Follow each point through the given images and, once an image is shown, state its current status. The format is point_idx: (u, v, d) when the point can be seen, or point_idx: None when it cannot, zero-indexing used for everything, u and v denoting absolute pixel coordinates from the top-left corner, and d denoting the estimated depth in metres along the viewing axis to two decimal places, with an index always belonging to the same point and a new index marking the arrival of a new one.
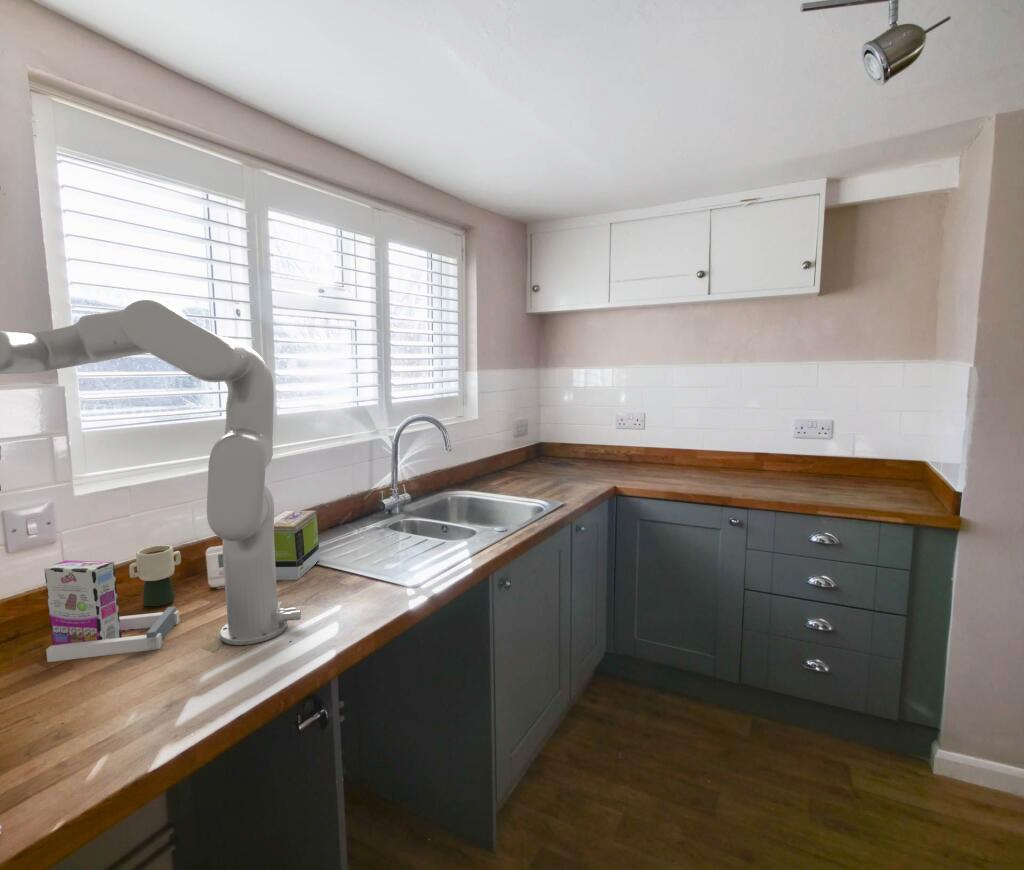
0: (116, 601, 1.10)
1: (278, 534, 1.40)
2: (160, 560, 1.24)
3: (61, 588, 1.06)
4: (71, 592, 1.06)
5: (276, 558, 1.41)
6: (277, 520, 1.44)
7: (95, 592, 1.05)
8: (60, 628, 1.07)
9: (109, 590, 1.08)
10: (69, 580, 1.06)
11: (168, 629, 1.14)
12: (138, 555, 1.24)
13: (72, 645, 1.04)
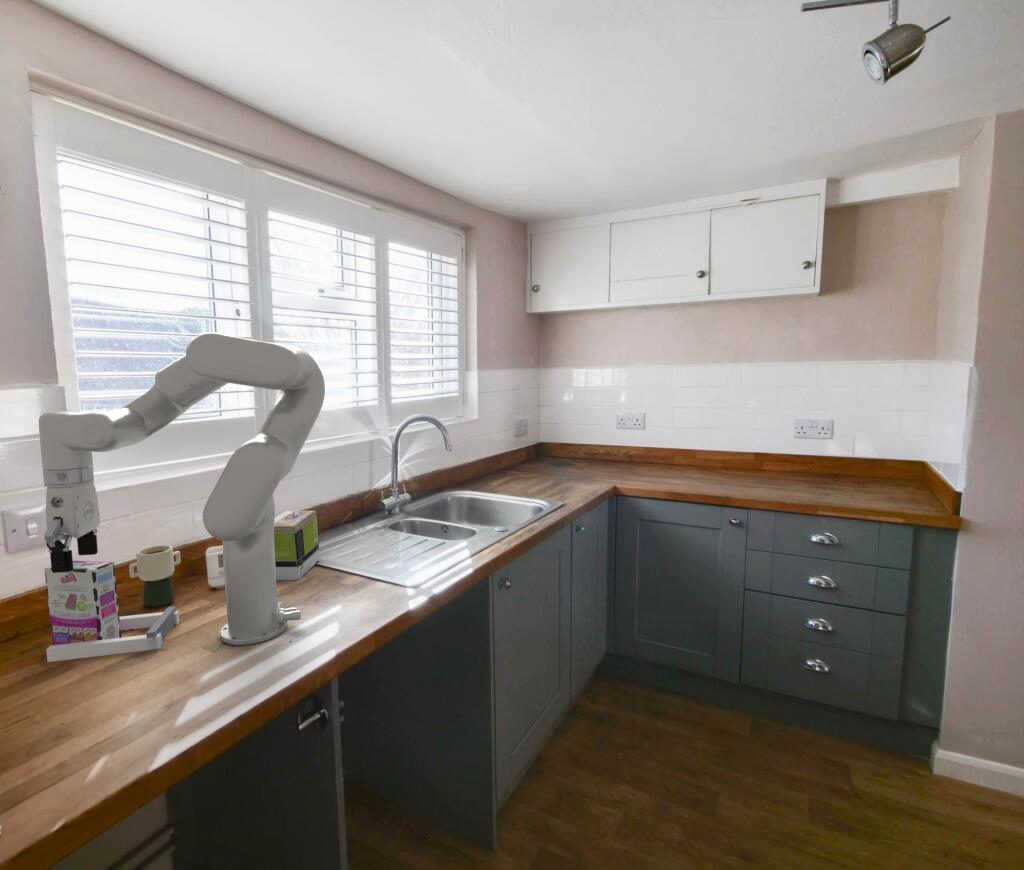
0: (116, 601, 1.10)
1: (278, 534, 1.40)
2: (160, 560, 1.24)
3: (61, 588, 1.06)
4: (72, 592, 1.06)
5: (276, 558, 1.41)
6: (277, 520, 1.44)
7: (95, 592, 1.05)
8: (60, 628, 1.07)
9: (109, 590, 1.08)
10: (69, 580, 1.06)
11: (168, 629, 1.14)
12: (138, 555, 1.24)
13: (72, 645, 1.04)
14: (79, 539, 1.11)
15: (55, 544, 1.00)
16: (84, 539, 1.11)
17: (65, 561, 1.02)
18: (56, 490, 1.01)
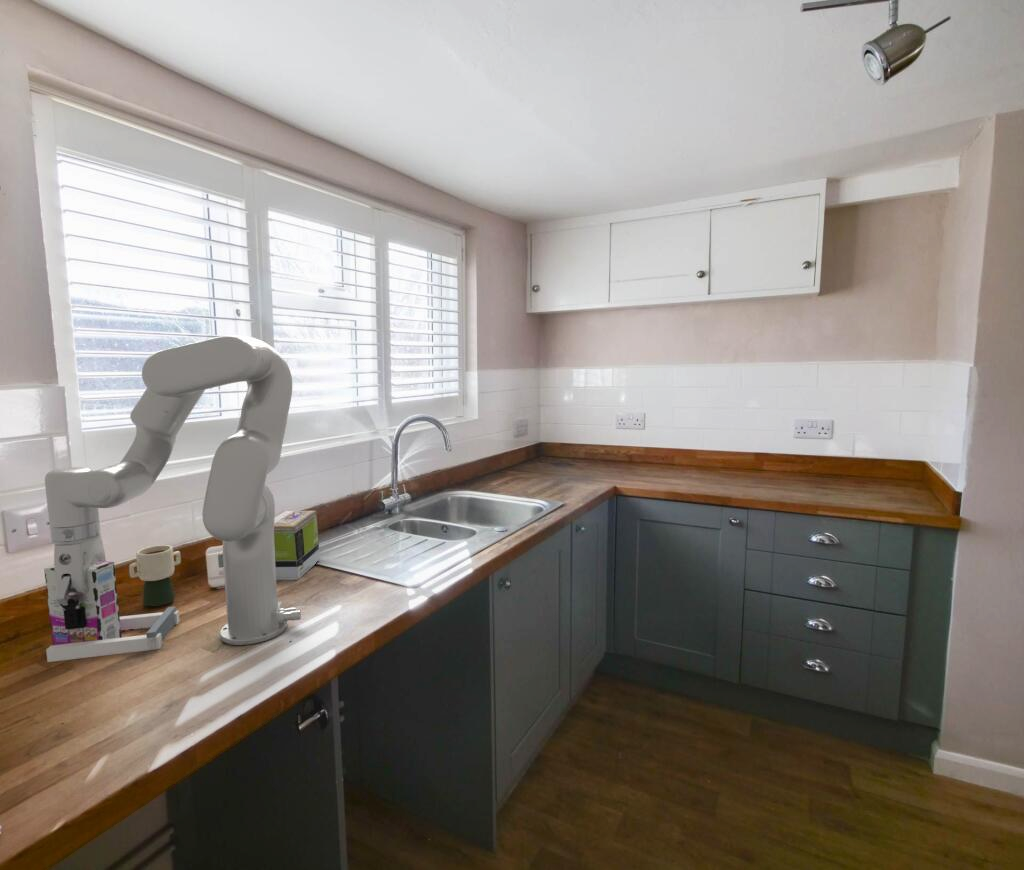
0: (116, 601, 1.10)
1: (278, 534, 1.40)
2: (160, 560, 1.24)
3: None
4: None
5: (276, 558, 1.41)
6: (277, 520, 1.44)
7: (95, 592, 1.05)
8: (60, 628, 1.07)
9: (110, 589, 1.08)
10: None
11: (168, 629, 1.14)
12: (138, 555, 1.24)
13: (72, 645, 1.04)
14: None
15: (68, 603, 1.02)
16: None
17: (78, 618, 1.05)
18: (64, 547, 1.03)
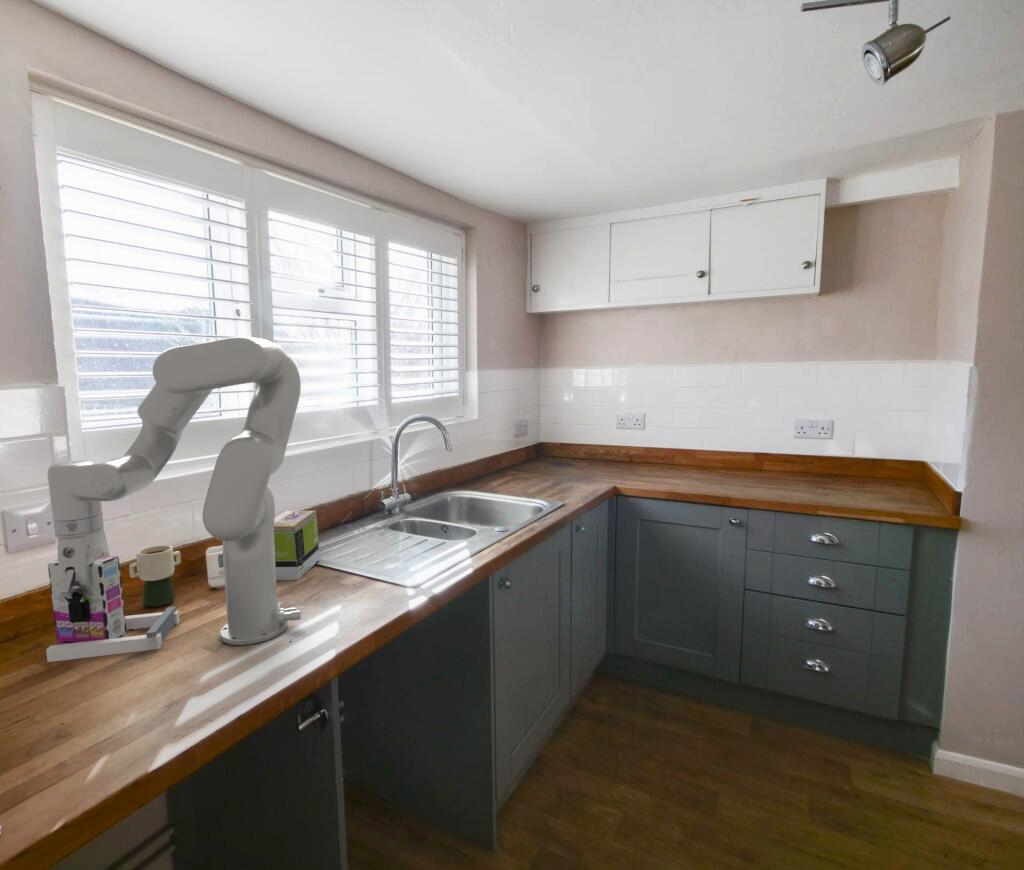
0: (121, 595, 1.10)
1: (278, 534, 1.40)
2: (160, 560, 1.24)
3: None
4: None
5: (276, 558, 1.41)
6: (277, 520, 1.44)
7: (101, 586, 1.05)
8: (64, 623, 1.07)
9: (115, 584, 1.08)
10: None
11: (168, 629, 1.14)
12: (138, 555, 1.24)
13: (72, 645, 1.04)
14: None
15: (72, 597, 1.02)
16: None
17: (83, 611, 1.05)
18: (67, 541, 1.03)
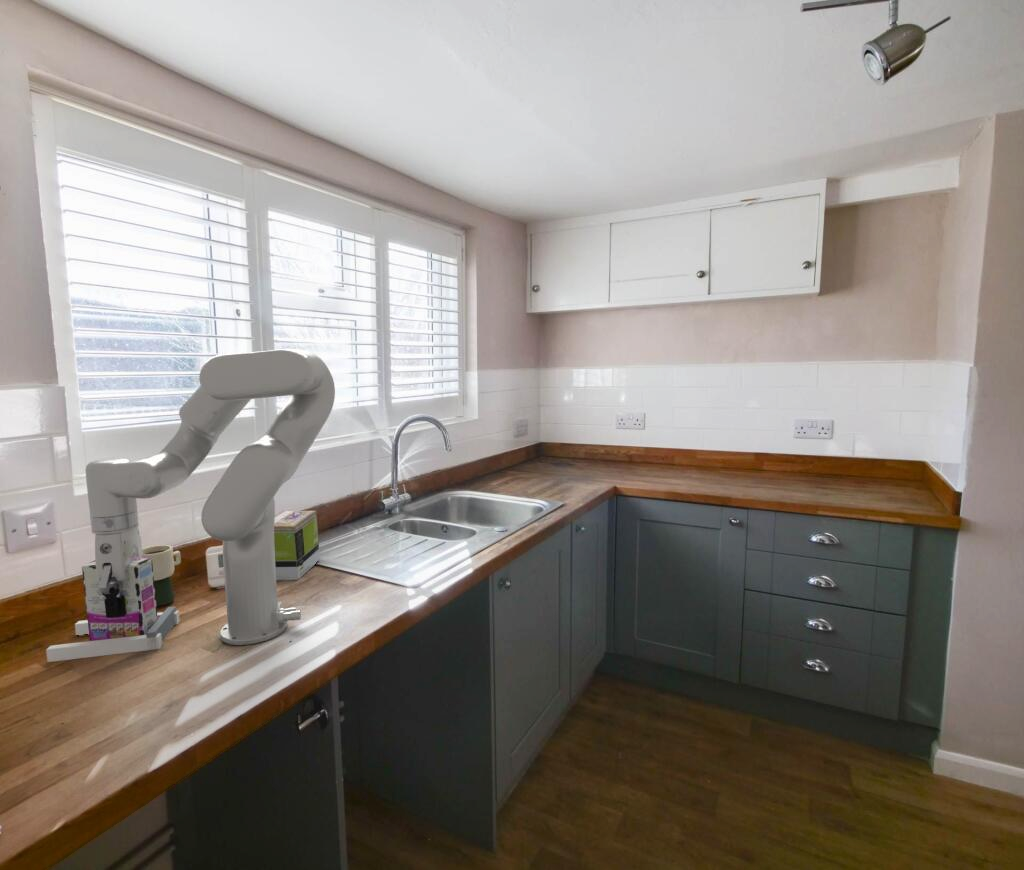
0: (154, 596, 1.12)
1: (278, 534, 1.40)
2: (160, 560, 1.24)
3: None
4: None
5: (276, 558, 1.41)
6: (277, 520, 1.44)
7: (137, 587, 1.07)
8: (98, 624, 1.08)
9: (149, 585, 1.10)
10: None
11: (168, 629, 1.14)
12: None
13: (72, 645, 1.04)
14: None
15: (110, 592, 1.04)
16: None
17: (118, 606, 1.07)
18: (104, 537, 1.04)
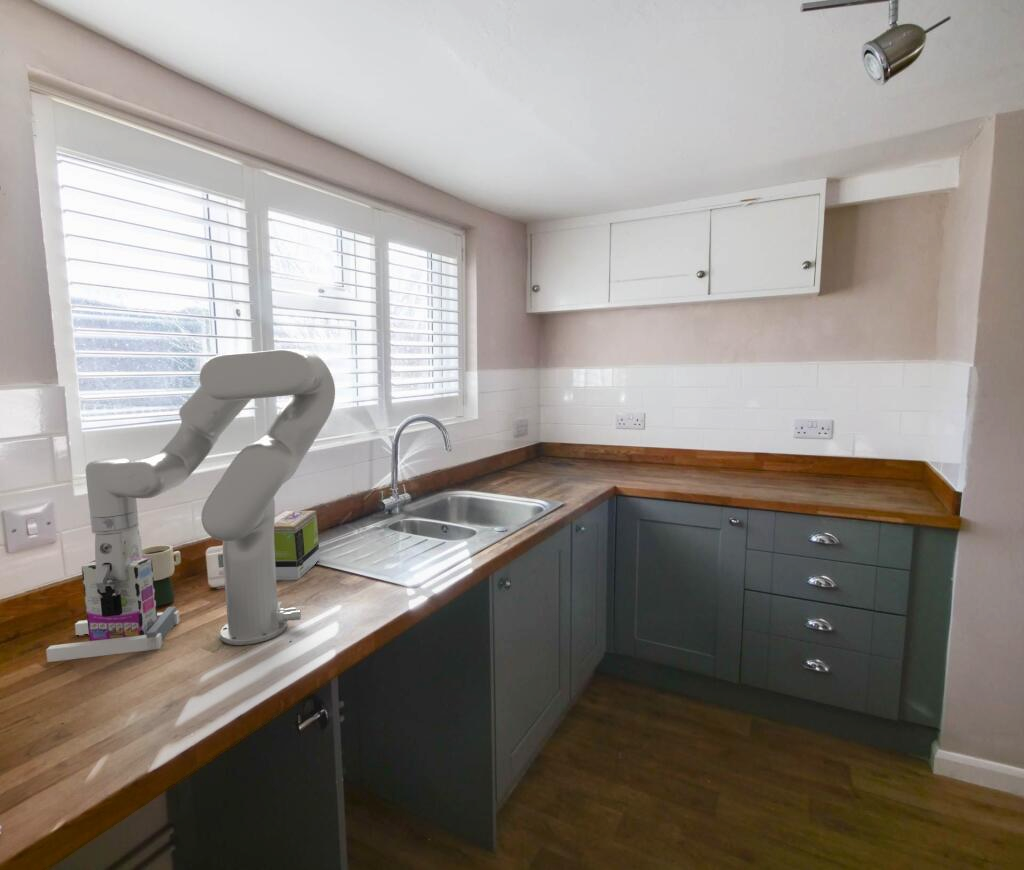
0: (154, 596, 1.12)
1: (278, 534, 1.40)
2: (160, 560, 1.24)
3: None
4: None
5: (276, 558, 1.41)
6: (277, 520, 1.44)
7: (137, 587, 1.07)
8: (98, 624, 1.08)
9: (149, 585, 1.10)
10: None
11: (168, 629, 1.14)
12: None
13: (72, 645, 1.04)
14: None
15: (105, 590, 1.03)
16: None
17: (115, 605, 1.05)
18: (104, 537, 1.04)
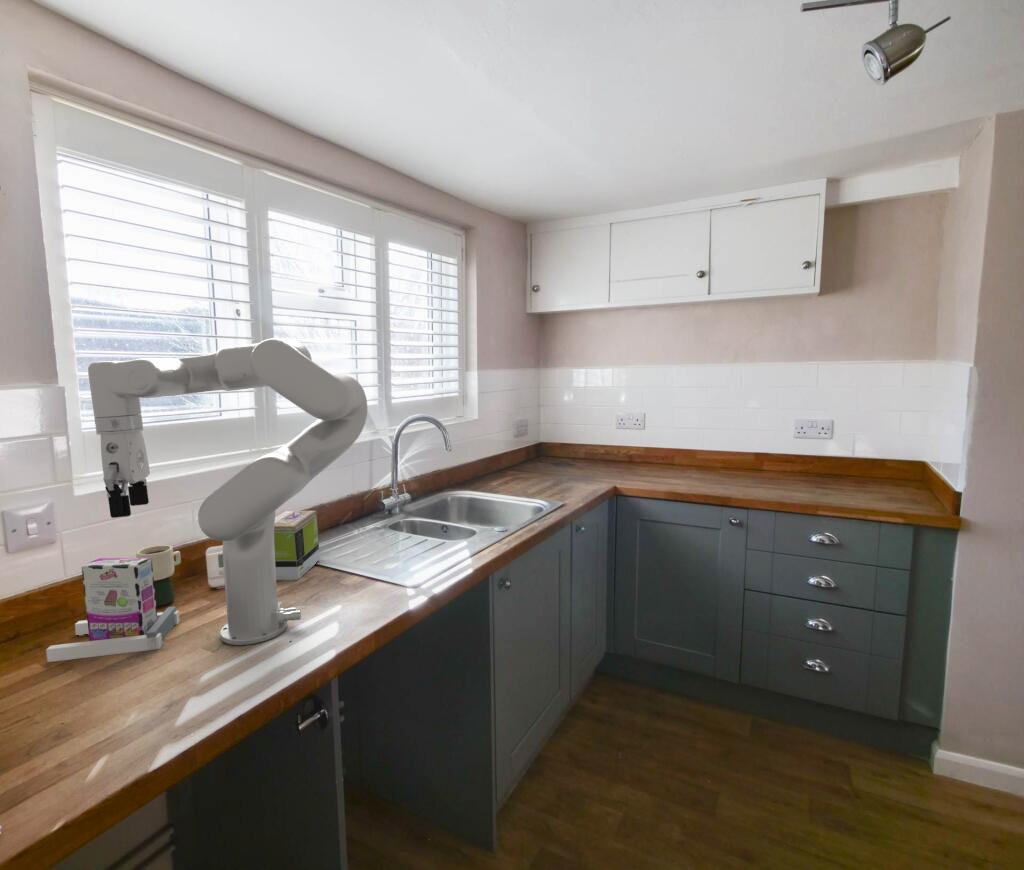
0: (154, 596, 1.12)
1: (278, 534, 1.40)
2: (160, 560, 1.24)
3: (100, 585, 1.07)
4: (112, 589, 1.07)
5: (276, 558, 1.41)
6: (277, 520, 1.44)
7: (137, 587, 1.07)
8: (98, 624, 1.08)
9: (149, 585, 1.10)
10: (109, 577, 1.07)
11: (168, 629, 1.14)
12: (138, 555, 1.24)
13: (72, 645, 1.04)
14: (130, 489, 1.13)
15: (113, 488, 1.02)
16: (135, 489, 1.14)
17: (123, 506, 1.05)
18: (110, 436, 1.04)
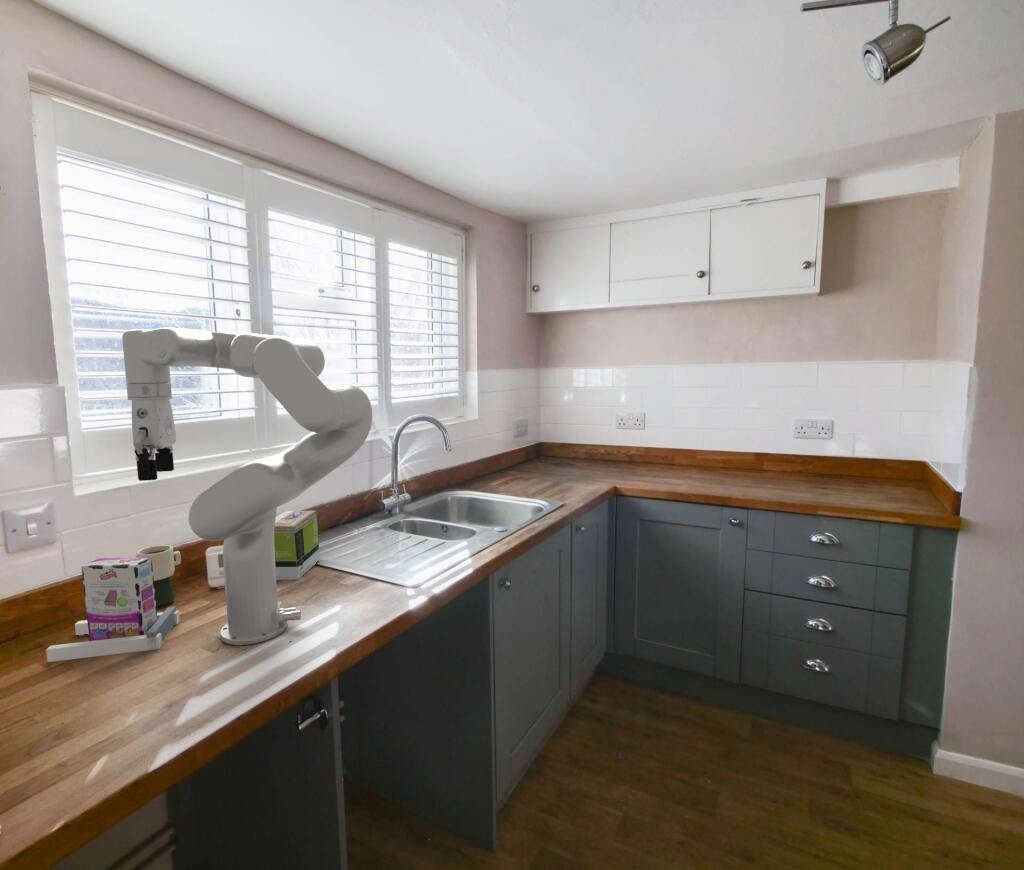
0: (154, 596, 1.12)
1: (278, 534, 1.40)
2: (160, 560, 1.24)
3: (100, 585, 1.07)
4: (112, 589, 1.07)
5: (276, 558, 1.41)
6: (277, 520, 1.44)
7: (137, 587, 1.07)
8: (98, 624, 1.08)
9: (149, 585, 1.10)
10: (109, 577, 1.07)
11: (168, 629, 1.14)
12: (138, 555, 1.24)
13: (72, 645, 1.04)
14: (157, 456, 1.17)
15: (142, 451, 1.06)
16: (162, 456, 1.17)
17: (150, 469, 1.08)
18: (141, 402, 1.07)
